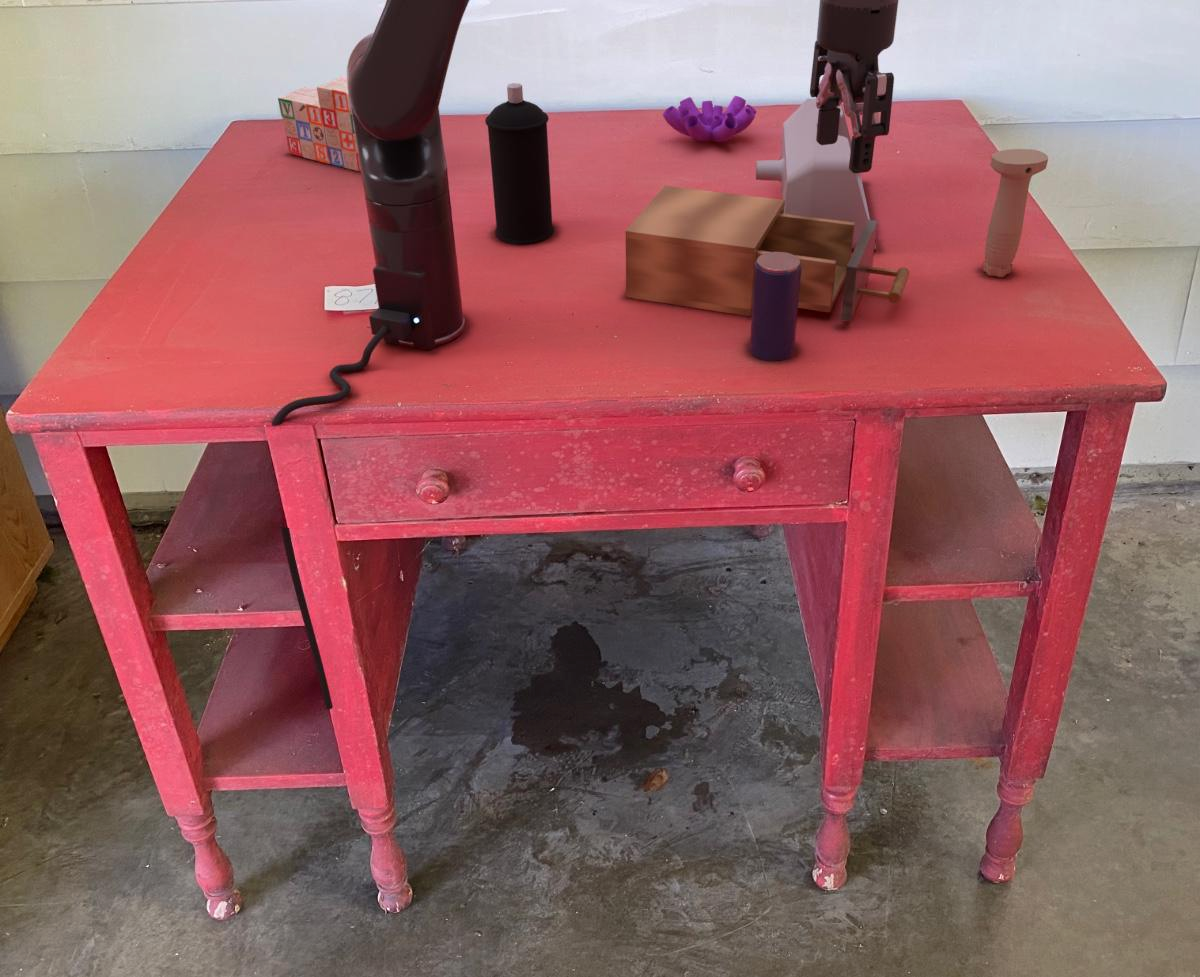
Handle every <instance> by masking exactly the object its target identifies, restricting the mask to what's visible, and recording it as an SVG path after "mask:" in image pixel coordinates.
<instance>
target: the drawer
mask: <svg viewBox="0 0 1200 977" xmlns="http://www.w3.org/2000/svg"><path fill="white" fill-rule="evenodd" d="M878 223H879V221H878V220H875V219H870V220H868V221H867V223H866V225H865V228H864V230H863V232H862V234H861V236H860V238H859V241H858V243H857V245H856V247H855V249H852V244H853V236H854V227H855V222H847V221H839V220H830V219H822V218H814V217H806V216H798V215H790V214H782V213H780V215H779V216H778V218H777V219H776V221H775V223H774V224H773V226H772V227H771V229H770V231H769V232H768V234H767V236H766V237H765V239H764V240H763V242H762V244H761V245H760V247H759V248H758V250H757V252H756V261H757V259H758V257H759V256H761V255H762V254H765V253H769V252H785V253H790V254H793V255H795V256H796V257H798V258H799V260H800V262H801V265H802V268H801V279H800V290H799V301H798V309H804V310H810V311H816V312H823V313H831V311H832V309H833V306H834V305H835V302H836V300H837V298H838V296H839V294H840V291H841V289H842V287H843V294H842V301H841V302H842V303H841V310H840V321H841V322H842V321H843V322H850V323H851V322H852V319H853V317H854V314H855V312H856V309H857V307H858V305H859V302H860V301H861V298H862V296H866V297H873V298H881V299H887V300H888V301H889V302H890V303H891V304H898V303H899V302H900V301H901V298H902V295H903V293H904V290H905V288H906V284H907V282H908V279H909V277H910V269H909V268H907V267H905V266H903V267H900V268H898V270H897V269H889V268H881V267H874V266H873V261H874V255H875V254H874V253H875V250H874V247H875V246H876V240H877V232H878ZM871 274H872V275H881V276H889V277H894V280H893V283H892V285H891V288H890V290H889V291H883V290H876V289H869V288H866V285H867V283H868V281H869V278H870V277H871Z"/></svg>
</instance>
